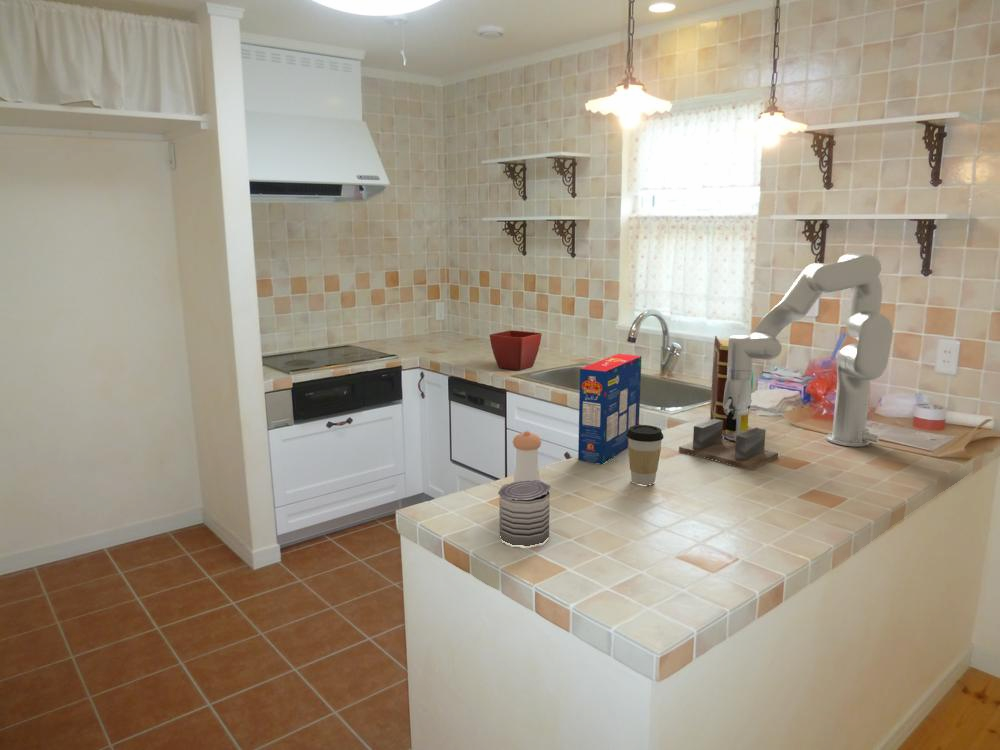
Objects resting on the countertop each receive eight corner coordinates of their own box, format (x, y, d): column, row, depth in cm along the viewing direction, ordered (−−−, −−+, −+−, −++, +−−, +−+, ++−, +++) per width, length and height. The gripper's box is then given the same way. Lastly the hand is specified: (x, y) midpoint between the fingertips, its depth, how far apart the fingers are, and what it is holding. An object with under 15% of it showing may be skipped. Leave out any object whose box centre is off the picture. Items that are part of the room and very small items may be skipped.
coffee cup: (664, 479, 194) (667, 426, 191) (657, 491, 185) (659, 436, 182) (629, 473, 198) (631, 422, 195) (620, 485, 189) (622, 432, 186)
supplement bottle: (747, 436, 231) (749, 398, 228) (747, 442, 224) (749, 403, 222) (725, 435, 233) (727, 397, 230) (725, 440, 227) (727, 402, 224)
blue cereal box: (615, 436, 233) (618, 353, 227) (638, 440, 229) (641, 356, 223) (578, 460, 210) (579, 368, 204) (602, 464, 206) (605, 371, 200)
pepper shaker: (521, 512, 172) (521, 437, 168) (507, 502, 178) (507, 429, 174) (546, 506, 175) (547, 433, 171) (532, 497, 182) (532, 425, 178)
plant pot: (510, 362, 360) (510, 329, 357) (542, 366, 349) (542, 332, 346) (488, 368, 345) (488, 334, 341) (521, 373, 334) (521, 337, 330)
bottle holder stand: (777, 457, 211) (780, 430, 209) (751, 470, 200) (753, 441, 199) (706, 440, 228) (707, 415, 227) (678, 451, 218) (680, 425, 216)
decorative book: (740, 435, 234) (746, 346, 227) (715, 434, 235) (720, 345, 229) (732, 417, 255) (737, 335, 249) (709, 416, 257) (714, 335, 251)
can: (546, 550, 152) (547, 498, 149) (494, 547, 154) (494, 495, 151) (552, 528, 163) (552, 479, 160) (503, 525, 165) (503, 477, 162)
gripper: (742, 368, 233) (739, 420, 236) (714, 376, 221) (712, 431, 225) (763, 371, 227) (760, 424, 231) (736, 380, 216) (734, 436, 219)
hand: (736, 427), depth 228 cm, fingers closed on supplement bottle, 6 cm apart
